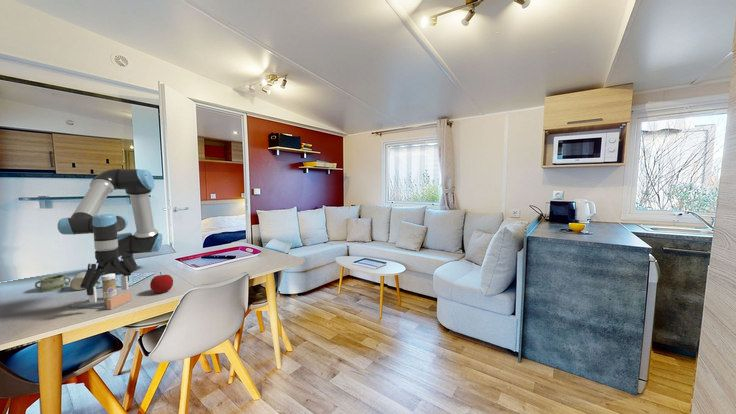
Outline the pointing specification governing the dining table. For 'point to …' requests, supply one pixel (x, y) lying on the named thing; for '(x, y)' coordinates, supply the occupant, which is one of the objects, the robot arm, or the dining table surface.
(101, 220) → the robot arm
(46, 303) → the dining table surface
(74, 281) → the ceramic mug
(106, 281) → the sprinkles bottle
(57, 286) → the vessel
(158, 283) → the apple
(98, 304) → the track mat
